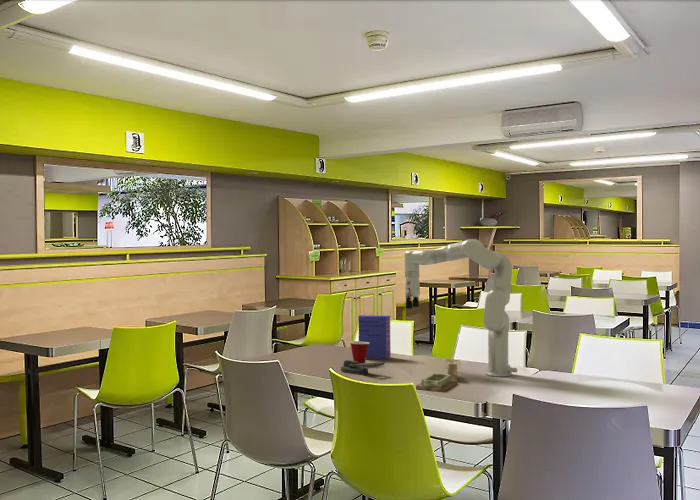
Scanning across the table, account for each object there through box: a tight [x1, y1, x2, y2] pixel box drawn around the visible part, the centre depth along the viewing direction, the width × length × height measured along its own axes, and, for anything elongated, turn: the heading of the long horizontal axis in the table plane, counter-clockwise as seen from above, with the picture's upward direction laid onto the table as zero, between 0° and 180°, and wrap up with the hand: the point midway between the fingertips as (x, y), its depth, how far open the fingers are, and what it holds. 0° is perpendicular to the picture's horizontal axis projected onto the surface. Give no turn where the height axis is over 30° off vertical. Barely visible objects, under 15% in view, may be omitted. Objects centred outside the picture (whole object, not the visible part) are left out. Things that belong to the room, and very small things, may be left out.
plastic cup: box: [349, 340, 370, 363], centre depth 338 cm, size 11×11×12 cm
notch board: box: [415, 372, 458, 393], centre depth 283 cm, size 13×18×4 cm
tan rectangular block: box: [445, 359, 458, 381], centre depth 299 cm, size 4×12×8 cm, turn 178°
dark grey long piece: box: [340, 359, 385, 376], centre depth 313 cm, size 9×7×25 cm
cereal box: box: [358, 314, 392, 360], centre depth 355 cm, size 17×5×24 cm, turn 82°
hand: (412, 307), depth 327 cm, fingers open, 9 cm apart
